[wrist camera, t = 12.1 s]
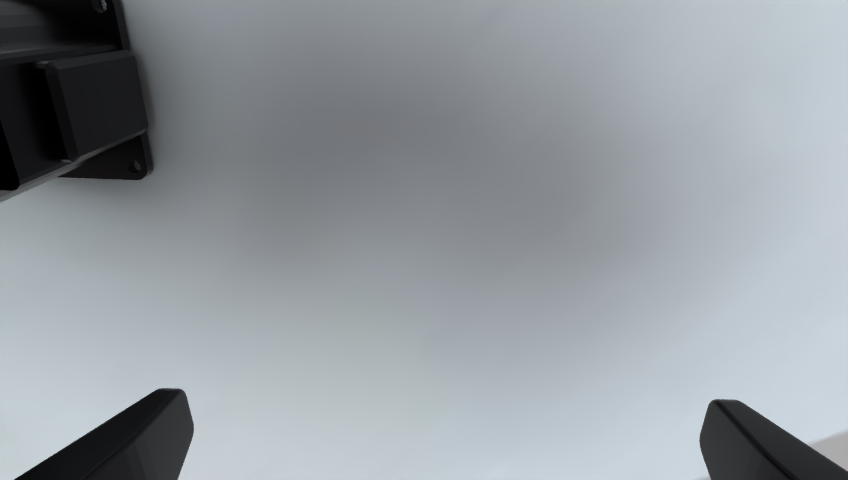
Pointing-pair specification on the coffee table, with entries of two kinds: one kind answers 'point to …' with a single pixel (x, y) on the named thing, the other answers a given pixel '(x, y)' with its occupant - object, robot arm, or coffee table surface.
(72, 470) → the robot arm
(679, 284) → the coffee table surface
